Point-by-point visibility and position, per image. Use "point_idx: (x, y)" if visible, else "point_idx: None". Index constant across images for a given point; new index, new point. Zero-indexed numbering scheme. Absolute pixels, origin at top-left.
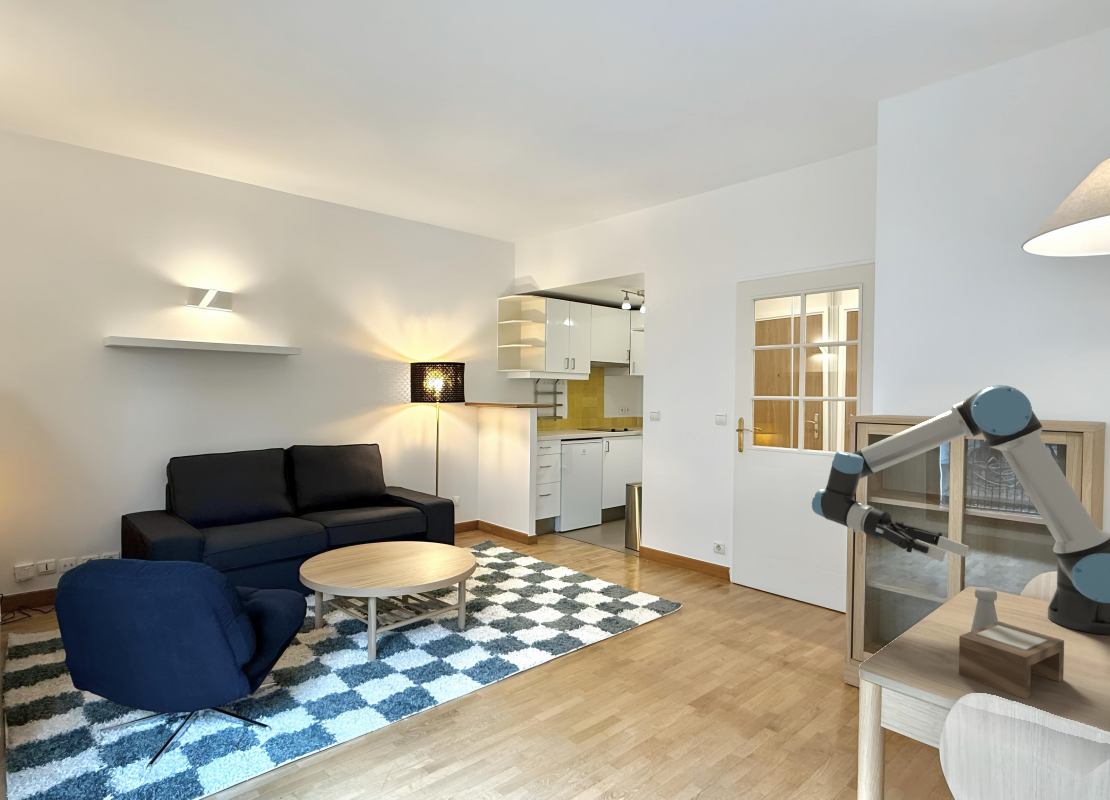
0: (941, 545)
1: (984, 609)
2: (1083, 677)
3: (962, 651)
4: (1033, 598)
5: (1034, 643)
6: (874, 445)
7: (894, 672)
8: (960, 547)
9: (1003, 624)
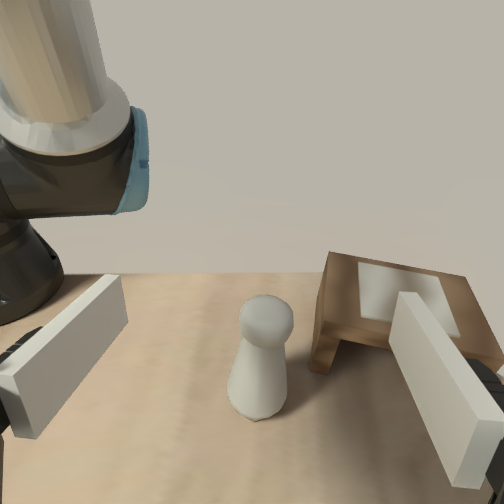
0: (51, 401)
1: (283, 344)
2: (285, 283)
3: None
4: None
5: (395, 271)
6: None
7: None
8: (107, 306)
9: (335, 312)
